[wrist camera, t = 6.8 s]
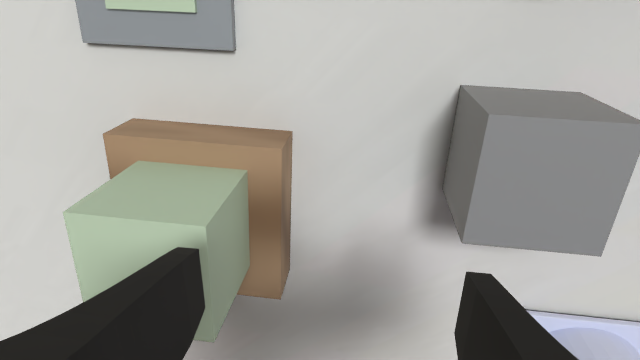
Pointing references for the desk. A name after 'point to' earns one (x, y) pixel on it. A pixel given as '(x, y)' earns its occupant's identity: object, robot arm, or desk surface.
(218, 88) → the desk surface
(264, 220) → the light brown block
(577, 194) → the charcoal block
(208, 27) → the plaque
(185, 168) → the sage block
